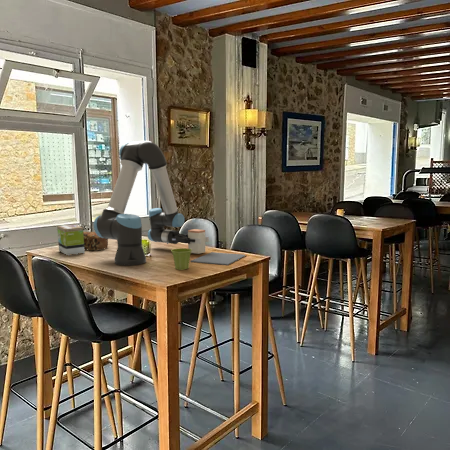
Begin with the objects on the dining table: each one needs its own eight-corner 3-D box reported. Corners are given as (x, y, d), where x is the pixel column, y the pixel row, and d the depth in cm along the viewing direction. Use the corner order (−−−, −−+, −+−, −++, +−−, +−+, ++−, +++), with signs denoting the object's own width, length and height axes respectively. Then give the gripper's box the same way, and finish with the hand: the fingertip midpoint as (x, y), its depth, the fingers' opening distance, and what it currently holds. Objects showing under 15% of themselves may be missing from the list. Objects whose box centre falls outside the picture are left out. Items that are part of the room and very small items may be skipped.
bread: (70, 249, 247) (69, 232, 246) (82, 246, 257) (81, 229, 256) (98, 251, 241) (97, 233, 240) (109, 248, 251) (108, 231, 249)
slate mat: (228, 265, 203) (228, 264, 203) (190, 261, 211) (190, 260, 211) (246, 255, 224) (246, 254, 224) (211, 253, 232) (211, 252, 232)
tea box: (58, 251, 240) (56, 225, 238) (76, 249, 246) (74, 224, 244) (66, 255, 228) (64, 228, 226) (85, 253, 234) (83, 226, 232)
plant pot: (172, 266, 201) (171, 248, 200) (192, 266, 202) (192, 247, 201) (171, 271, 192) (170, 252, 191) (192, 270, 192) (191, 251, 191)
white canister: (198, 253, 227) (198, 231, 226) (188, 252, 231) (188, 230, 230) (205, 252, 232) (205, 230, 231) (195, 250, 236) (194, 229, 235)
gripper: (182, 241, 249) (214, 244, 236) (159, 245, 233) (193, 250, 220) (182, 228, 248) (214, 231, 235) (159, 232, 232) (193, 235, 220)
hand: (204, 240), depth 228 cm, fingers closed on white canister, 6 cm apart
